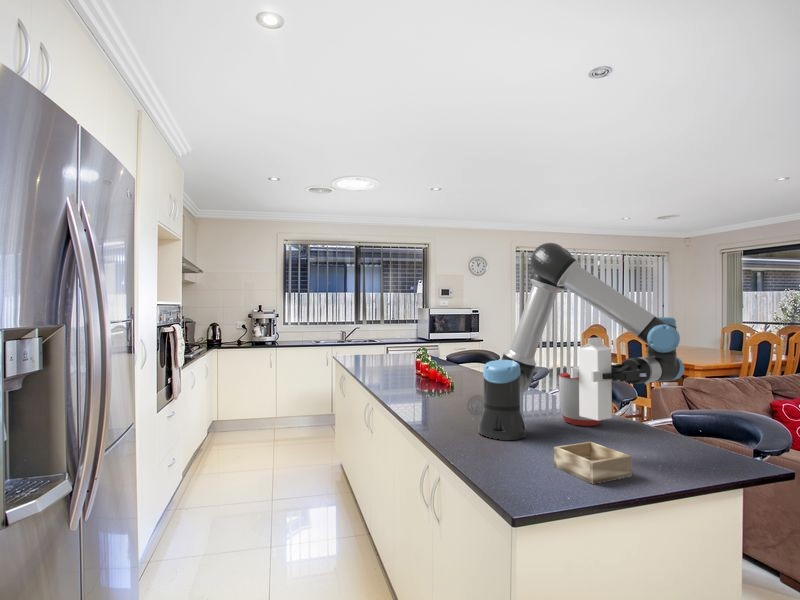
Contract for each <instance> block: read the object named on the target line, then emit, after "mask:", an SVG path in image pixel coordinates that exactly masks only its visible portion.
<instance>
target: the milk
mask: <svg viewBox="0 0 800 600" xmlns="http://www.w3.org/2000/svg"><path fill="white" fill-rule="evenodd" d="M602 341H603V340H602V337H589V338H587V343H586V344H585V345H583V346H581V347H580V348H579V349H578V368H579V416H581V417H585V418H589V419H593V420H597V421H599V420H600V421H603V420H609V419H613V416H612V415H613V411H612V408H613V405H612V403H613V399H612V395H613V394H612V393H613V392H612V391H613V390H612V389H613V388H612V380H611V381H599V382H591V371H604V370H611V365H612V349H611V348H610V347H608V346H607V345H605V344H604V343H603V342H602Z"/></svg>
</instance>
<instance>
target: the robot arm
mask: <svg viewBox="0 0 800 600" xmlns="http://www.w3.org/2000/svg"><path fill="white" fill-rule="evenodd" d="M530 265H531V268H532V273H531V274H530V275H531V276H530V278H529V281H530V283H531V288H530V292H529V294H528V298H527V300H526V302H525V305H524V309H523V310H522V314H521V316H520V320H519V322H518V325H517V327H516V331H515V334H514V336H513V339H512V342H511V344H510V347H509V348H508V349H507V350H505V351H504V352H503V354H502V357H501V359H496V360H490V361H488V362H486V363H485V364H484V367H483V373H482V374H483V410H482V412H481V413H482V414H481V417H480V420H479V423H478V427H477V428H478V429H477V431H478V432H479V433H480V434H482V435H484V436H486V437H485V438H487V437H489V438H488V439H491V438H493V439H492V440H497V439H499V441H516V440H521V439H524V438H525V437H526V436H527V435H526V434H527V430H526V424H525V423H524V418H523V416H522V413H521V394H522V393H524V392H526V391H527V390H528V389H529V388H530V387H531V385H532V383H533V379H534V371H535V368H536V366H537V362H536V360H535V355H536V353H537V350H538V347H539V345H540V343H541V339H542V336H543V334H544V330H545V328H546V325H547V323H548V320H549V316H550V314H551V311H552V308H553V305H554V304H555V303H554V302H555V300H556V299H557V295H558V294H559V293H560V292H563V291H564V290H565V288H566V289H567V290H568V291H570V292H571V293H574V294H575V296H578V297H579V298H580V299H582V300H583V301H585V303H588V305H590V306H592V307H593V308H595V309H596V310H597V311H599V312H600V313H601V314H604V315H605V316H606V317H608V318H610V319H611V320H612V321H614V322H615V323H617V324H618V325H619V326H620V327H622V328H623V329H625V330H627V331H628V332H629V333H631V334H632V335H634V336H636V337H637V338H638V339H639V340H641V341H642V342H644V343H645V344H647V356H641V357H640V356H639V357H629V358H625V360H623V362H621V363H616V364H611V370H604V371H591V382H599V381H611V382H612V381H613V382H616V381H619V382H621V383H622V382H626V383H628V384H631V385H639V384H644V385H645V386H647V385H649V383H659V382H671V381H676V380H678V379H680V378H682V376H683V375H684V373H685V365H684V363H683V361H682V359H680V358H679V357H678V356H677V348H678V347H679V344H680V341H681V336H680V333H679V332H678V330H677V329H678V327H677V323H676V322H677V321H676V319H675V318H674V317H664V316H663V317H662V316H661V317H660V316H658V317H657V316H655V314H653V313H651V312H650V311H648V310H646V309H645V308H644V307H642V306H640V305H639V304H637V303H636V302H635V301H633V300H631V299H630V298H628V297H627V296H625V295H624V294H622V293H621V292H620V291H618V290H616V289H615V288H613V287H612V286H610V285H609V284H607V283H605V281H603V280H601V279H600V278H598V277H596V276H595V275H594V274H592V273H591V272H589V271H587V270H586V269H585V268H583V267H582V266H580V263H579V261H578V260H577V259H576V258H574V257H573V255H572V254H571V252H570V251H569V250H568V249H566V248H564V247H563V246H562V245H560V244H558V243H555V242H546V243H542V244H540V245H538V246H537V247H536V248H535V249H534V251H533V252H532V254H531V257H530ZM570 378H579V367H570ZM479 433H478V434H479ZM480 434H479V435H480ZM482 435H481V436H482ZM484 436H483V437H484Z"/></svg>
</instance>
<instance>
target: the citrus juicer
mask: <svg viewBox="0 0 800 600" xmlns="http://www.w3.org/2000/svg"><path fill="white" fill-rule="evenodd" d="M558 380H559V382H558V398H559V406H560V411H561V415H562V418H563V421H564V422H566V423H569V424H571V425H573V426H588V427H589V426H590V427H591V426H592V427H596V426H597V425H599V424H600V422H601V420H599V421H597V420H593V419H589V418H585V417H581V416H579V378H571V374H569V372H562V373H561V372H560V373H558Z"/></svg>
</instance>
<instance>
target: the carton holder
mask: <svg viewBox="0 0 800 600" xmlns="http://www.w3.org/2000/svg"><path fill="white" fill-rule="evenodd" d="M553 467H555V468H557V469H559V470H560V471H562V472H565V473H567V474H569V475H572V476H573V477H575V476H576V478H577V479H580V480H582V481H584V480H585V482H586V481H587V483H588V482H589V483H588V484H590V483H592V484H591V485H596V484H595V483H598V484H600V483H599V482H603V483H605V482H604V481H608V482H610V481H609V480H613V481H615V480H614V479H618V480H620V479H619V478H623V477H628V478H630V477H629V476H631V477H632V455H629V454H627V453H624V452H621V451H619V450H615V449H613V448H610V447H607V446H604V445H601V444H598V443H595V442H593V441H586V442H585V441H584V442H578V443H571V444H566V445H559V446H554V447H553ZM623 479H624V478H623Z"/></svg>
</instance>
